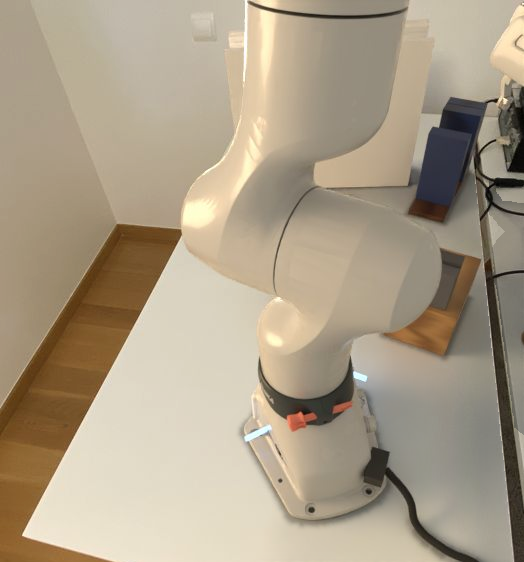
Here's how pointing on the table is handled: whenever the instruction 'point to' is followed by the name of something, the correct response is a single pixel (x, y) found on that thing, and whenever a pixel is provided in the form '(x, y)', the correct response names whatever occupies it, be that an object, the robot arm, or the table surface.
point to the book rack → (467, 120)
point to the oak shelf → (441, 314)
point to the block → (394, 131)
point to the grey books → (447, 279)
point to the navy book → (442, 165)
